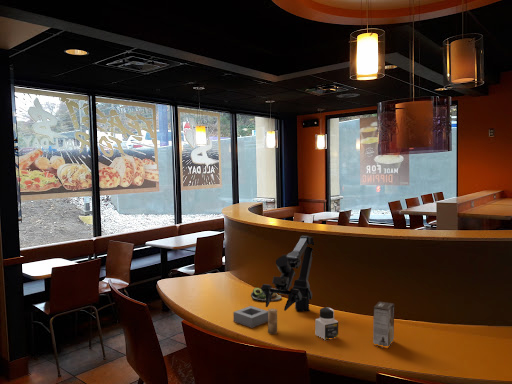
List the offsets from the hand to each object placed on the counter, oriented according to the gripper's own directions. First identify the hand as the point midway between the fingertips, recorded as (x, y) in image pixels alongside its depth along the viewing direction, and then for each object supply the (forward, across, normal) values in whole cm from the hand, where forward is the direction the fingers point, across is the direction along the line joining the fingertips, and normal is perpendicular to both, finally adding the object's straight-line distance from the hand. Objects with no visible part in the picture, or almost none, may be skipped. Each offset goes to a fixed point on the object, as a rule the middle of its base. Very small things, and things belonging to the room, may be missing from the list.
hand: (275, 308), depth 176 cm
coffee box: (0, +45, +14) cm, 47 cm away
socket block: (+4, -15, +10) cm, 18 cm away
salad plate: (-22, -27, +36) cm, 50 cm away
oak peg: (+9, 0, +5) cm, 10 cm away
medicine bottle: (+3, +22, +11) cm, 25 cm away
